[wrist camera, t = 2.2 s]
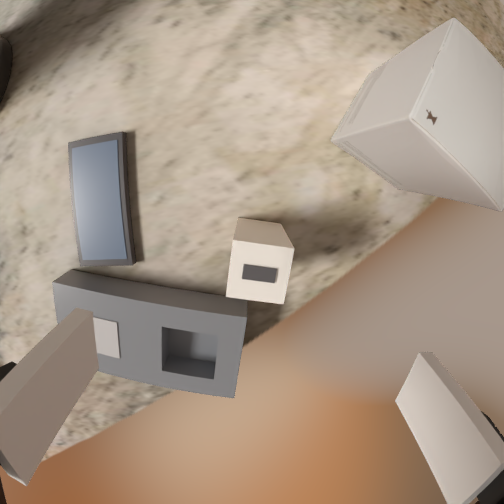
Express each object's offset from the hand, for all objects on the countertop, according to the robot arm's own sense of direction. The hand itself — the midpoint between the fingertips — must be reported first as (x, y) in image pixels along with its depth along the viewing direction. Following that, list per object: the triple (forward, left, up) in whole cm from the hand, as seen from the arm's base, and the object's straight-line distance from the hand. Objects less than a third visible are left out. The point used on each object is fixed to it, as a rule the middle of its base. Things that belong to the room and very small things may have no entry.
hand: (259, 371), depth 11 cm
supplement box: (-13, +11, -19) cm, 26 cm away
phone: (-2, -16, -19) cm, 25 cm away
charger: (0, 0, -19) cm, 19 cm away
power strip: (+11, -10, -19) cm, 24 cm away
